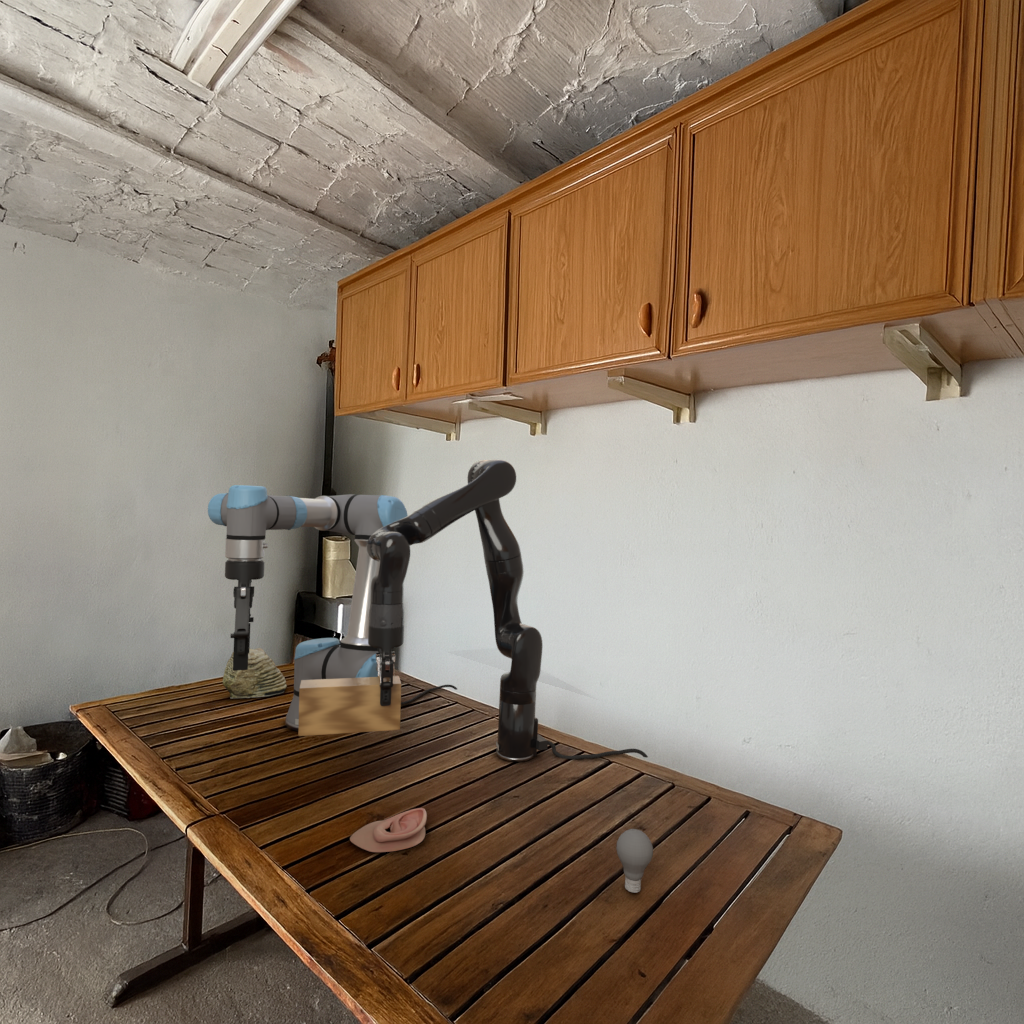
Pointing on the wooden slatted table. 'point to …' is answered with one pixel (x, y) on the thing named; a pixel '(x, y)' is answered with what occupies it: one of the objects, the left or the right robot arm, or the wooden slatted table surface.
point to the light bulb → (634, 857)
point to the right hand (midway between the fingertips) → (384, 700)
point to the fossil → (254, 677)
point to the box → (347, 706)
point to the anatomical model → (392, 832)
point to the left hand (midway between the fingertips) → (241, 661)
